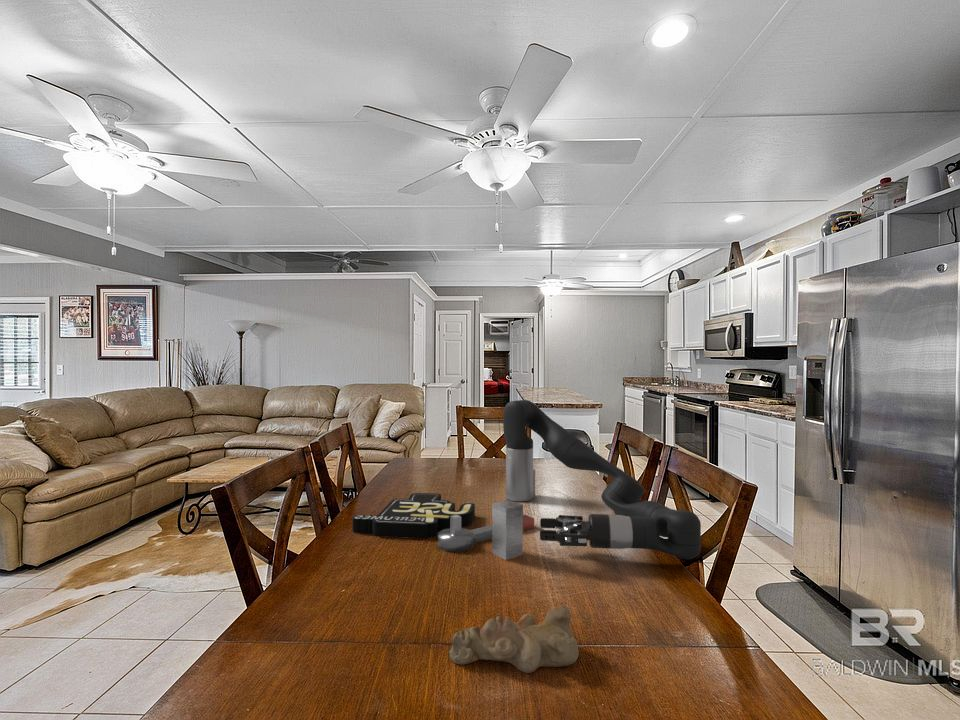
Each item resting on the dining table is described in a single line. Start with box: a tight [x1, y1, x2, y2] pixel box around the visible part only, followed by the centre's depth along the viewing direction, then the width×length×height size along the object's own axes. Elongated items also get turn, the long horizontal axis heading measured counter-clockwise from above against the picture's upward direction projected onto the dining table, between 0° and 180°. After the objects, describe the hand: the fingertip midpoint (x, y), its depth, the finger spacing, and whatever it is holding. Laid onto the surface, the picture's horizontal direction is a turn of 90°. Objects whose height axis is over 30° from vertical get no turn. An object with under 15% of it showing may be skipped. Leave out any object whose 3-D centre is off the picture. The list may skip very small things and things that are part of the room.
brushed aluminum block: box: [491, 499, 524, 561], centre depth 117 cm, size 5×5×12 cm
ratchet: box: [437, 514, 535, 553], centre depth 128 cm, size 30×9×7 cm, turn 126°
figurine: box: [448, 605, 580, 674], centre depth 77 cm, size 12×8×20 cm
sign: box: [351, 492, 476, 539], centre depth 142 cm, size 32×4×30 cm
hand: (540, 528), depth 115 cm, fingers open, 8 cm apart
